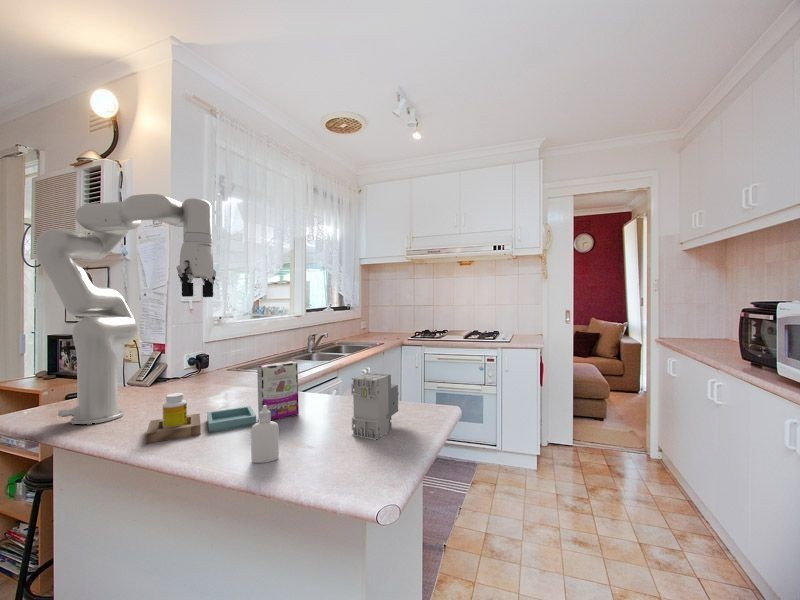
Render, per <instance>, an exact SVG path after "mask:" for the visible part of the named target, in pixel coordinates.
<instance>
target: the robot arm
mask: <svg viewBox="0 0 800 600" xmlns="http://www.w3.org/2000/svg"><path fill="white" fill-rule="evenodd" d="M74 216H75V217H74V218H75V220H76V222H77V223H78V225H79V226H80V227H82V228H83V229H86V230H88V231H90V232H93V233H91V234H90V233H84V232H79V231H76V230H70V229H64V228H52V229H47V230H45V231H43V232H42V233H40V235H38V237H37V240H36V243H35V255H36V258H37V261H38V262H39V264H40V266H41V268H42V269H43V270H44V272H45V274H46V275H47V276H48V278H49V280H50V281H51V284H53V287H54V289H55V291H56V293H57V295H58V297H59V298H60V301H61V303H62V305H63V307H64V308H65V310H66V312H68V313H69V314H70V315H71V316H76V317H86V318H82V319H80V320H79V321H77V322H76V324H74V326H73V328H72V332H71V333H72V340H73V344H74V348H75V352H76V354H75V355H76V374H77V375H76V376H77V377H76V378H77V379H76V380H77V381H76V387H77V388H76V389H77V392H76V393H77V394H76V395H77V396H76V398H77V399H76V400H77V403H76V404H77V405H76V406H74V407H73V408H68V409H67V408H66V409H59V410H58V414H57V415H58V417H59V418H60V417H61V418H65V417H71V418H70V424H71V423H73V424H72V425H74V424H87V425H93V424H92V423H95V424H101V423H105V422H110V421H113V420H116V419H119V418H121V417H123V416H124V414H125V411H124V410H123V409H119V406H118V403H119V402H118V395H119V394H118V358H117V355H116V353H115V351H114V349H113V348H112V347H113V346H118V345H119V346H120V345H123V344H128V343H130V342H133V340H134V339H135V338H136V337H137V335H138V325H137V322H136V320H135V317H134V316H133V313H132V312H131V310H130V308H129V306H128V304H127V303H126V301H125V299H124V297H123V295H122V294H121V293H120V292H119V291H117V290H116V289H114V288H110V287H104V286H96V285H94V284H93V283H92V281H91V280H90V278H89V276H88V273H87V272H86V270H85V269H84V268H83V267H82V266H81V265H79V263H77V262H76V261H74V259H77V260H86V261H99V260H102V259H104V258H106V256H108V255H109V254H110V253H111V252H112V251H113V250H114V248H115V247H117V245H118V244H119V243H120V242H122V240H123V239H124V238H125V237H126V236H127V234H128V233H129V231H130V230H135V229H137V228H139V227H140V226H141V224H142V221H157V222H161V223H165V224H167V225H171V226H174V227H178V228H183V230H182V231H183V232H182V233H183V234H182V236H183V238H182V239H183V243H181V248H180V253H179V254H180V255H179V265H177V266H176V271H177V274H178V278H179V279H180V280H179V282H180V283H181V297H184V298H185V297H188V298H189V297H194V282H193V280H194V279H201V280H202V282H203V284H202V298H213V297H214V285H215V280H216V276H217V271H216V270H215V269H214V256H213V250H212V245H213V244H212V243H213V237H212V230H213V229H212V205H211V203H210V202H209V201H208V200H205V199H201V198H193V197H191V198H187V199H184V201H183V202H182V201H179V200H176V199H173V198H170V196H169V197H168V196H167V195H164V194H163V195H162V194H159V193H144V194H135V195H129V196H128V197H127V198H125V199H124V200H122V201H112V202H100V203H99V202H98V203H97V202H95V203H88V204H84V205H81V206H80V207H78V208H77V209H76V210H75V214H74Z"/></svg>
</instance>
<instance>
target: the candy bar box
mask: <svg viewBox="0 0 800 600" xmlns="http://www.w3.org/2000/svg"><path fill="white" fill-rule="evenodd" d="M256 369H257V370H256V371H257V374H256V375H257V410H258V411H257V413H258V416H259V412H260V411H262V409H263V406H264V405H266V406H267V410H269V411H271V420H272V421H276V420H275V419H277V420H280V419H279V418H281V419H285V417H286V418H290V417H294V416H298V415H299V414H300V413H299V412H300V411H299V409H300V407H299V378H298V370H299V369H298V362H296V361H293V360H291V361H283V362H276V363H275V362H274V363H268V364H260V365H257V367H256ZM289 416H290V417H289ZM271 420H270V421H271Z"/></svg>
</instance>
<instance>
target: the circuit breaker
mask: <svg viewBox="0 0 800 600" xmlns="http://www.w3.org/2000/svg"><path fill="white" fill-rule="evenodd" d="M351 380H352V383H350V386H351V387H350V388H351V391H350V392H351V395H352V396H353V401H352V402H353V405H352V406H353V416H352V417H351V430H352V434H351V436H352V437H356V436H360V437H359V438H362V437H365V438H364V439H368V438H371V439H370V440H374V439H378V440H379V439H381V438H382V437H383V436H385V435H386V434H388V433H389V432H390V431H392V429H393V428H392V426H393V425H392V422H391V421H392V416H393V415H395V414H396V413H398V412H399V385H398V384H392V374H390V373H389V374H388V373H375V372H364V373H361V374H359V375H356V376H354V377H351ZM389 430H390V431H389ZM388 431H389V432H388ZM387 432H388V433H387ZM385 433H386V434H385ZM384 434H385V435H384ZM380 437H381V438H380Z"/></svg>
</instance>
